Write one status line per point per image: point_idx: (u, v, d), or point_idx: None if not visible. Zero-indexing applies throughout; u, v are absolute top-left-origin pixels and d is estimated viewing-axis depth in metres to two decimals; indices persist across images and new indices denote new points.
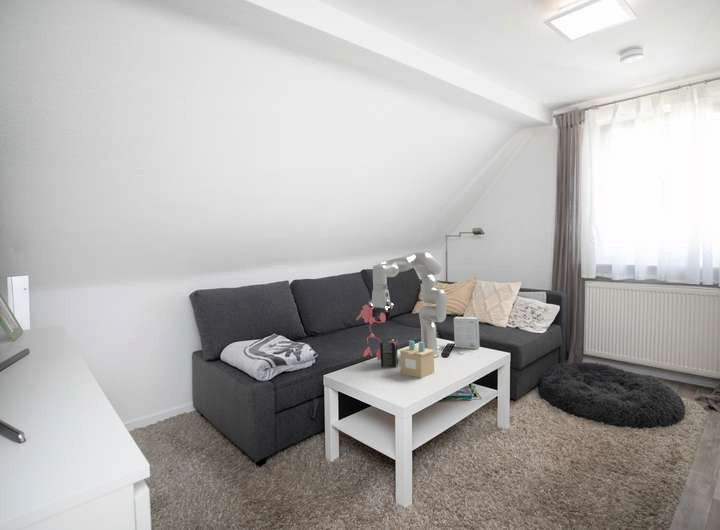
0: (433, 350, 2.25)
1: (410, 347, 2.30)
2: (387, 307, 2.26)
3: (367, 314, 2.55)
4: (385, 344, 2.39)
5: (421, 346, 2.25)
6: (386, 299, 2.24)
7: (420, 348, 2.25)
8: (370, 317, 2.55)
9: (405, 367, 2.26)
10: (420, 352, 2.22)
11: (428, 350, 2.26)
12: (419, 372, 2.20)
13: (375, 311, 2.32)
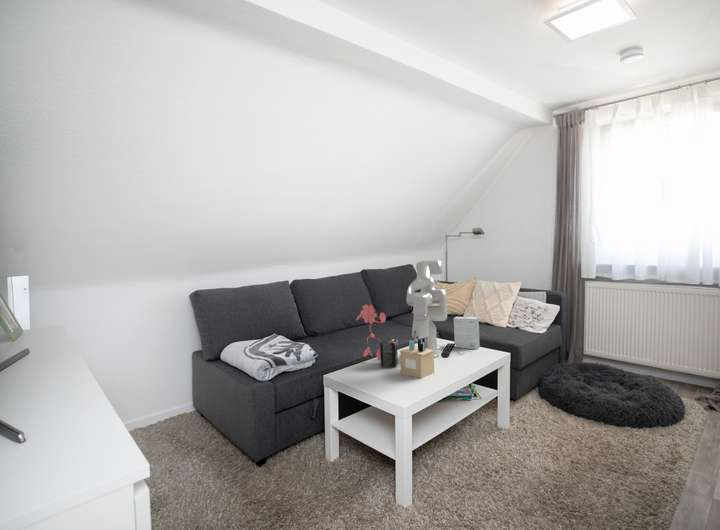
0: (433, 350, 2.25)
1: (410, 347, 2.30)
2: (422, 337, 2.27)
3: (367, 314, 2.55)
4: (385, 344, 2.39)
5: None
6: None
7: None
8: (370, 317, 2.55)
9: (405, 367, 2.26)
10: (420, 352, 2.22)
11: (428, 350, 2.26)
12: (419, 372, 2.20)
13: None
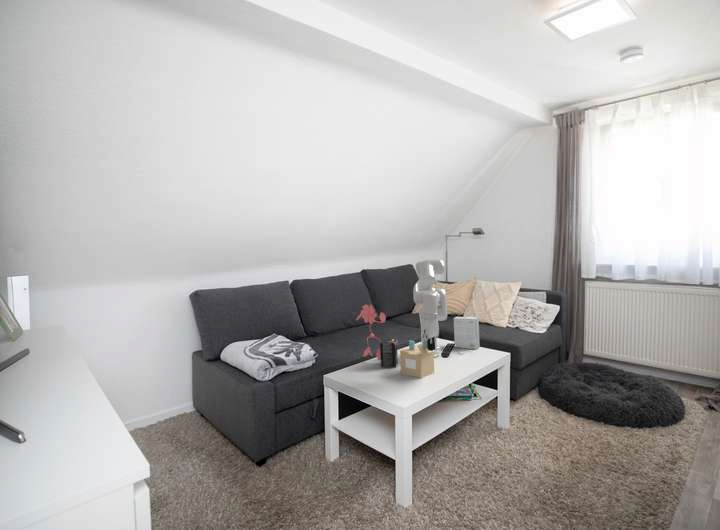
0: None
1: (410, 347, 2.30)
2: (431, 337, 2.22)
3: (367, 314, 2.55)
4: (385, 344, 2.39)
5: None
6: None
7: (425, 343, 2.22)
8: (370, 317, 2.55)
9: (405, 367, 2.26)
10: (423, 348, 2.21)
11: None
12: (419, 372, 2.20)
13: None
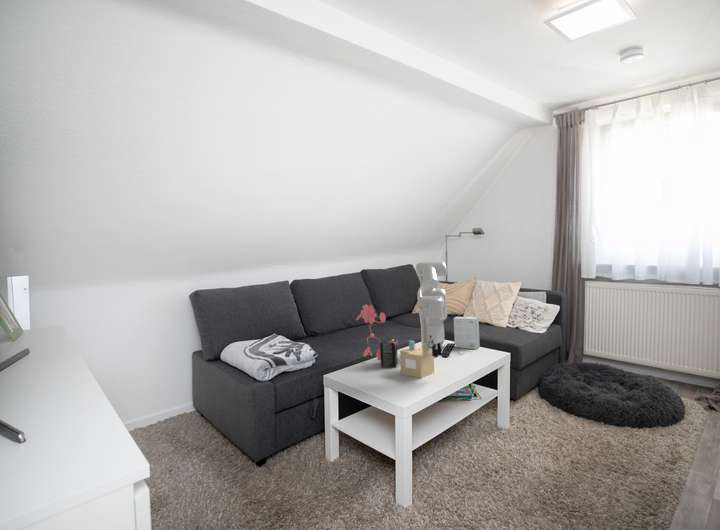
0: None
1: (410, 347, 2.30)
2: (437, 342, 2.20)
3: (367, 314, 2.55)
4: (385, 344, 2.39)
5: None
6: None
7: None
8: (370, 317, 2.55)
9: (405, 367, 2.26)
10: (426, 348, 2.20)
11: None
12: (419, 372, 2.20)
13: None
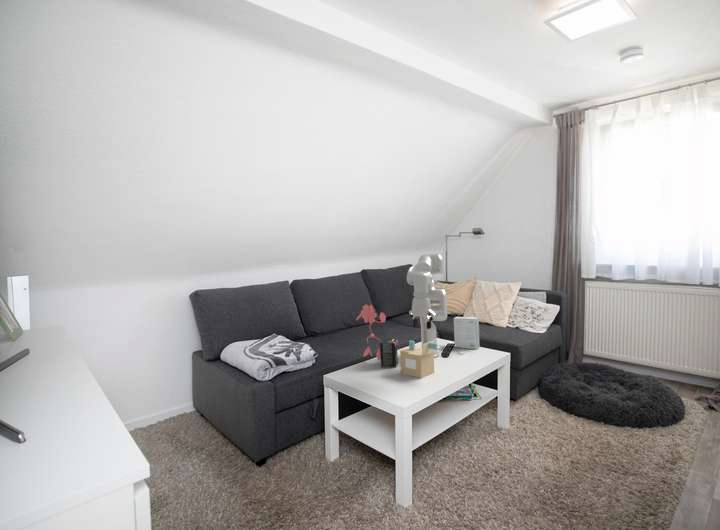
0: (434, 351, 2.25)
1: (410, 347, 2.30)
2: None
3: (367, 314, 2.55)
4: (385, 344, 2.39)
5: (433, 346, 2.19)
6: None
7: (430, 345, 2.20)
8: (370, 317, 2.55)
9: (405, 367, 2.26)
10: (426, 348, 2.20)
11: (432, 348, 2.24)
12: (419, 372, 2.20)
13: None
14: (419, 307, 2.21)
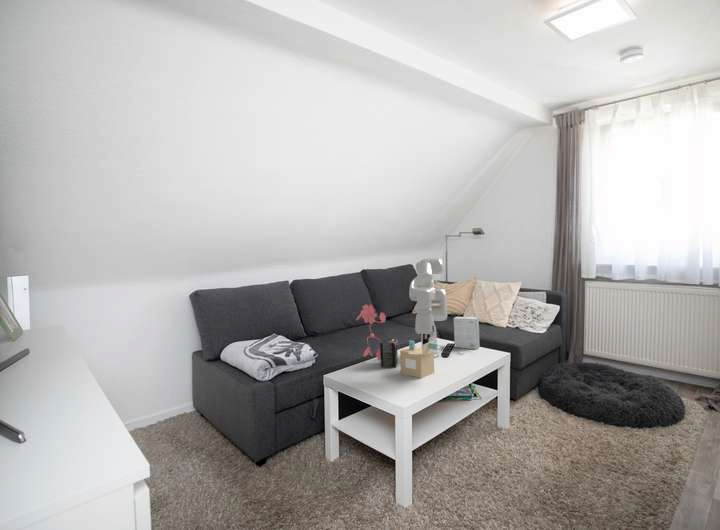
0: (434, 351, 2.25)
1: (410, 347, 2.30)
2: None
3: (367, 314, 2.55)
4: (385, 344, 2.39)
5: (433, 346, 2.19)
6: None
7: (431, 345, 2.20)
8: (370, 317, 2.55)
9: (405, 367, 2.26)
10: (426, 348, 2.20)
11: (432, 348, 2.24)
12: (419, 372, 2.20)
13: None
14: (422, 324, 2.20)
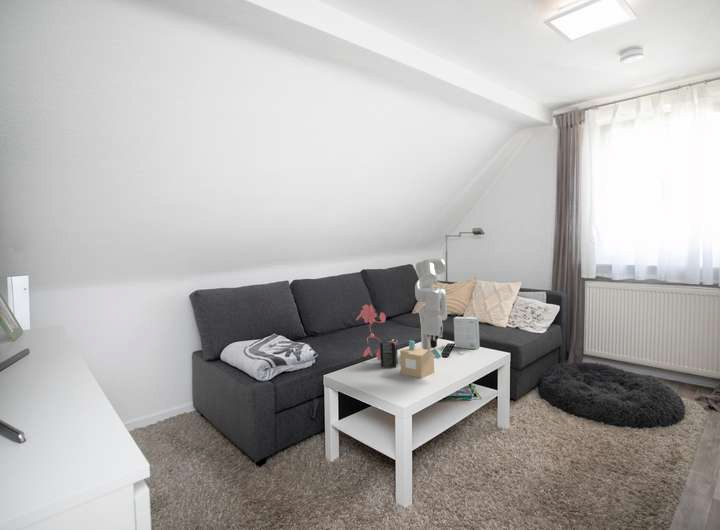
0: None
1: (410, 347, 2.30)
2: None
3: (367, 314, 2.55)
4: (385, 344, 2.39)
5: (436, 354, 2.18)
6: None
7: (435, 351, 2.18)
8: (370, 317, 2.55)
9: (405, 367, 2.26)
10: (429, 352, 2.18)
11: None
12: (419, 372, 2.20)
13: None
14: (431, 325, 2.17)
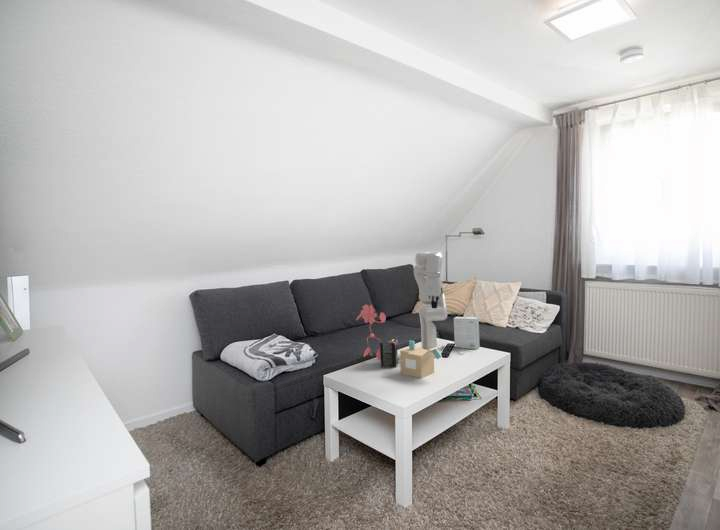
0: None
1: (410, 347, 2.30)
2: (431, 296, 2.31)
3: (367, 314, 2.55)
4: (385, 344, 2.39)
5: (436, 354, 2.18)
6: None
7: (435, 352, 2.18)
8: (370, 317, 2.55)
9: (405, 367, 2.26)
10: (429, 352, 2.18)
11: None
12: (419, 372, 2.20)
13: None
14: (431, 286, 2.28)
